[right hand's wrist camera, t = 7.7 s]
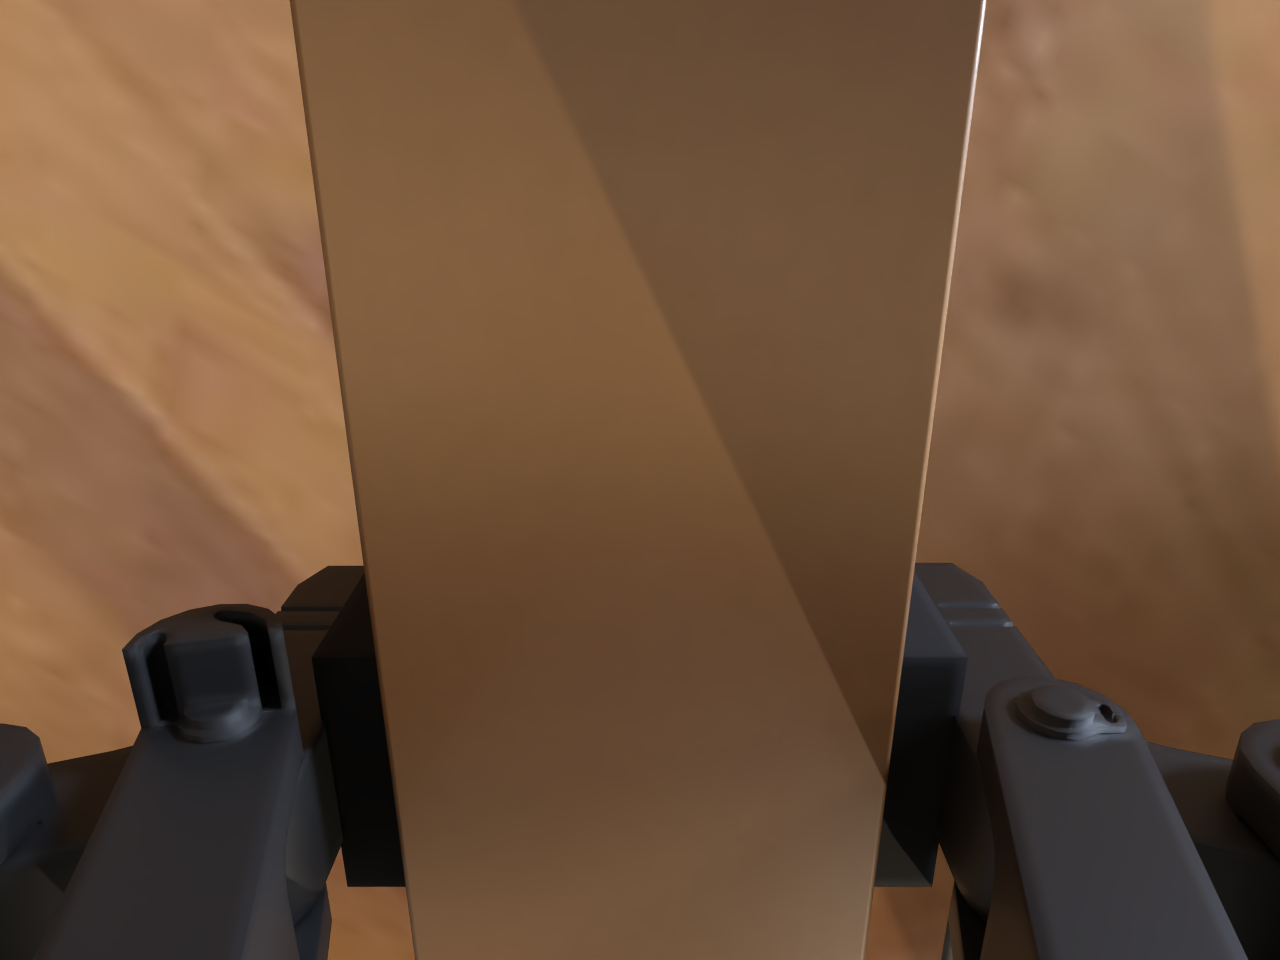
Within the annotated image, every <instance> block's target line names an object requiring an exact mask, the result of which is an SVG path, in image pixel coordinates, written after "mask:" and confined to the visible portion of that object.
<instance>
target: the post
mask: <svg viewBox="0 0 1280 960" xmlns="http://www.w3.org/2000/svg"><path fill="white" fill-rule="evenodd" d="M986 1H987V0H290V6H291V14H292V21H293V29H294V37H295V44H296V52H297V60H298V67H299V75H300V83H301V90H302V98H303V105H304V113H305V121H306V128H307V136H308V144H309V151H310V159H311V167H312V174H313V182H314V189H315V197H316V205H317V212H318V220H319V228H320V235H321V243H322V251H323V258H324V266H325V274H326V281H327V289H328V296H329V304H330V312H331V319H332V327H333V335H334V342H335V350H336V358H337V365H338V373H339V380H340V388H341V396H342V403H343V411H344V419H345V426H346V434H347V442H348V449H349V457H350V464H351V472H352V480H353V487H354V495H355V503H356V510H357V518H358V526H359V533H360V541H361V549H362V556H363V564H364V571H365V579H366V587H367V594H368V602H369V610H370V617H371V625H372V633H373V640H374V648H375V655H376V663H377V671H378V678H379V686H380V694H381V701H382V709H383V717H384V724H385V732H386V739H387V747H388V755H389V762H390V770H391V778H392V785H393V793H394V801H395V808H396V816H397V824H398V831H399V839H400V846H401V854H402V862H403V869H404V877H405V885H406V892H407V900H408V908H409V915H410V923H411V930H412V938H413V946H414V953H415V960H865V953H866V946H867V938H868V930H869V922H870V914H871V906H872V898H873V890H874V883H875V875H876V867H877V859H878V851H879V843H880V835H881V827H882V820H883V812H884V804H885V796H886V788H887V780H888V772H889V765H890V757H891V749H892V741H893V733H894V725H895V717H896V709H897V702H898V694H899V686H900V678H901V670H902V662H903V654H904V646H905V639H906V631H907V623H908V615H909V607H910V599H911V591H912V584H913V576H914V568H915V560H916V552H917V544H918V536H919V528H920V521H921V513H922V505H923V497H924V489H925V481H926V473H927V465H928V458H929V450H930V442H931V434H932V426H933V418H934V410H935V402H936V395H937V387H938V379H939V371H940V363H941V355H942V347H943V340H944V332H945V324H946V316H947V308H948V300H949V292H950V284H951V277H952V269H953V261H954V253H955V245H956V237H957V229H958V221H959V214H960V206H961V198H962V190H963V182H964V174H965V166H966V159H967V151H968V143H969V135H970V127H971V119H972V111H973V103H974V96H975V88H976V80H977V72H978V64H979V56H980V48H981V40H982V33H983V25H984V17H985V9H986Z"/></svg>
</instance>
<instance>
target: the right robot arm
mask: <svg viewBox="0 0 1280 960" xmlns="http://www.w3.org/2000/svg"><path fill="white" fill-rule="evenodd" d="M122 651H123V655H124V660H125V664H126V668H127V672H128V676H129V680H130V684H131V688H132V692H133V696H134V700H135V704H136V708H137V712H138V716H139V720H140V724H141V730H140V733H139V735H138V737H137V739H136V741H135V743H134V745H133V746H130V747H126V748H122V749H118V750H114V751H110V752H105V753H100V754H95V755H90V756H84V757H79V758H74V759H69V760H64V761H59V762H54V763H49V764H47V762H46V758H45V755H44V752H43V748H42V745H41V742H40V738H39V737H38V736H37V735H35V734H34V733H33V732H32V731H30V730H29V729H28V728H26V727H21V726H15V725H8V724H0V960H327V958H328V949H329V940H330V932H331V923H332V918H331V912H330V905H329V899H328V893H327V887H326V880H327V878H328V875H329V873H330V871H331V868H332V866H333V863H334V861H335V859H336V856H337V854H338V851H339V849H340V847H341V848H342V855H343V861H344V867H345V874H346V880H347V886H348V887H406V885H405V877H404V869H403V862H402V854H401V846H400V839H399V831H398V824H397V816H396V808H395V801H394V793H393V785H392V778H391V770H390V762H389V755H388V747H387V739H386V732H385V724H384V717H383V709H382V701H381V694H380V686H379V678H378V671H377V663H376V655H375V648H374V640H373V633H372V625H371V617H370V610H369V602H368V594H367V587H366V579H365V571H364V566H327V567H326V568H324V569H322V570H321V571H319V572H318V573H316V574H314V575H313V576H311V577H310V578H308V579H306V580H305V581H303V582H302V583H300V584H298V585H297V587H296V588H295V589H294V591H293V592H292V593H291V595H290V596H289V597H288V599H287V600H286V601H285V603H284V604H283V605H282V607H281V611H278V612H277V613H276V614H274V613H273V612H272V611H270V610H269V609H267V608H262V607H258V606H253V605H249V604H219V605H213V606H208V607H202V608H197V609H192V610H188V611H185V612H182V613H179V614H176V615H174V616H171V617H168V618H165V619H162V620H160V621H158V622H157V623H155V624H153V625H151V626H150V627H148V628H146V629H144V630H143V631H141V632H139V633H138V634H136V635H135V636H134V637H133V638H132V640H131V641H130V642H129V643H128V644H127V645H126V646H125V647H124V648H123V649H122ZM938 844H940V846H941V848H942V851H943V853H944V856H945V858H946V860H947V863H948V865H949V867H950V870H951V872H952V875H953V877H954V879H955V881H954V887H953V893H952V899H951V905H950V910H949V916H948V922H947V928H946V934H945V940H944V946H943V952H942V958H941V960H1280V720H1279V719H1278V720H1271V721H1265V722H1258V723H1254V724H1253V725H1251V726H1250V727H1249V728H1247V729H1246V730H1245V731H1244V732H1242V733H1241V736H1240V739H1239V742H1238V746H1237V749H1236V752H1235V756H1234V759H1233V760H1231V759H1226V758H1221V757H1215V756H1210V755H1205V754H1200V753H1195V752H1190V751H1185V750H1180V749H1175V748H1169V747H1165V746H1161V745H1157V744H1153V743H1149V742H1146V741H1145V739H1144V737H1143V735H1142V733H1141V731H1140V729H1139V727H1138V726H1137V724H1136V723H1135V722H1134V721H1133V719H1132V718H1131V717H1130V716H1129V714H1128V713H1127V712H1126V710H1124V709H1123V708H1122V707H1120V706H1119V705H1117V704H1116V703H1114V702H1113V701H1111V700H1110V699H1108V698H1107V697H1105V696H1104V695H1102V694H1100V693H1098V692H1095V691H1093V690H1090V689H1088V688H1086V687H1083V686H1081V685H1078V684H1076V683H1072V682H1067V681H1063V680H1058V679H1055V677H1054V676H1053V675H1052V673H1051V672H1050V671H1049V669H1048V668H1047V667H1046V666H1045V664H1044V663H1043V662H1042V660H1041V659H1040V658H1039V656H1038V655H1037V654H1036V652H1035V651H1034V650H1033V648H1032V647H1031V646H1030V644H1029V643H1028V642H1027V641H1026V639H1025V638H1024V637H1023V635H1022V634H1021V633H1020V631H1019V630H1018V629H1017V627H1013V625H1012V621H1011V619H1010V618H1009V617H1008V616H1007V614H1006V613H1005V612H1004V610H1003V609H1002V608H999V604H998V602H997V601H996V600H995V598H994V597H993V596H992V594H991V593H990V592H989V590H988V589H987V588H986V587H985V585H984V584H983V583H982V582H981V581H980V580H978V579H977V578H975V577H973V576H972V575H970V574H969V573H967V572H965V571H964V570H962V569H960V568H959V567H957V566H956V565H954V564H952V563H915V568H914V576H913V584H912V591H911V599H910V607H909V615H908V623H907V631H906V639H905V646H904V654H903V662H902V670H901V678H900V686H899V694H898V702H897V709H896V717H895V725H894V733H893V741H892V749H891V757H890V765H889V772H888V780H887V788H886V796H885V804H884V812H883V820H882V827H881V835H880V843H879V851H878V859H877V867H876V875H875V883H874V887H932V883H933V876H934V870H935V863H936V857H937V851H938Z"/></svg>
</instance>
